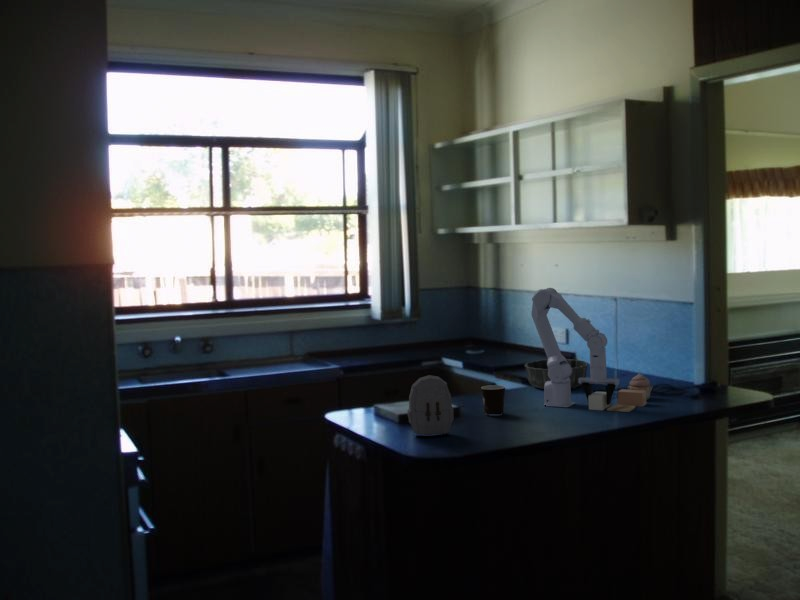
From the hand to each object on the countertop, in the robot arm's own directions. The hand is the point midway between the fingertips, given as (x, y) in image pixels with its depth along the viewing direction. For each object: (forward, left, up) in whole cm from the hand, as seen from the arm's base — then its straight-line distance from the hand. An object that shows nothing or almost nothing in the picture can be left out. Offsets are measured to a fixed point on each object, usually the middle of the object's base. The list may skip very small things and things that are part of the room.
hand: (599, 403), depth 291 cm
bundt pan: (-29, +36, -2) cm, 47 cm away
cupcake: (+10, +20, -2) cm, 22 cm away
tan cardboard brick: (+10, +9, -1) cm, 13 cm away
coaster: (+8, 0, -1) cm, 8 cm away
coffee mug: (-31, -22, -2) cm, 38 cm away
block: (0, 0, -1) cm, 1 cm away
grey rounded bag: (-36, -60, -2) cm, 70 cm away
